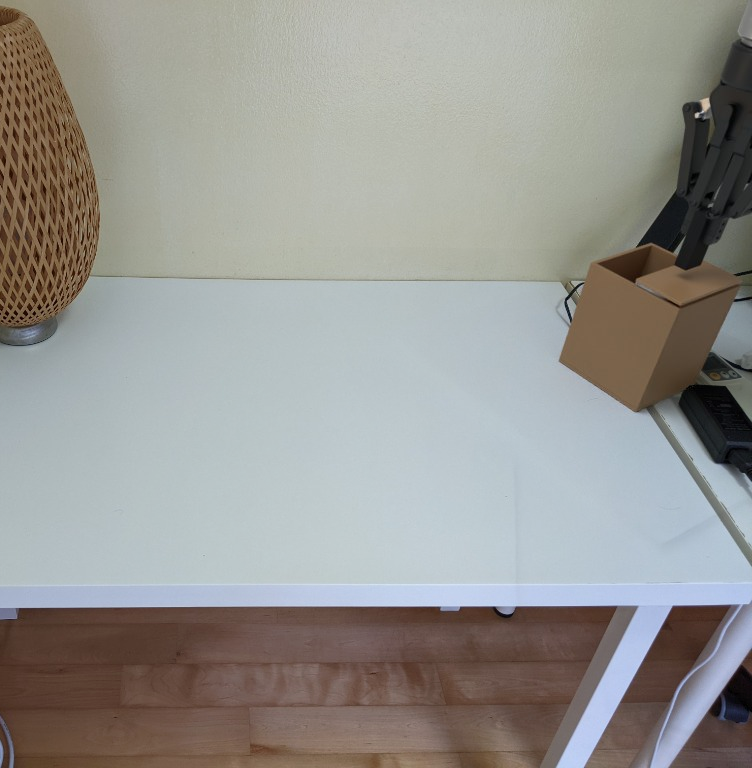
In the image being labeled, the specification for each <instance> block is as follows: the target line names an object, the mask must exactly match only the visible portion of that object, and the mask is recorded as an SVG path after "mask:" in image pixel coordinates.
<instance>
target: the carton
mask: <svg viewBox="0 0 752 768" xmlns="http://www.w3.org/2000/svg"><path fill="white" fill-rule="evenodd" d="M677 256H678V254H676V253H674V252H672V251H669V250H667V249H666V248H663V247H661V246H659V245H657V244H655V243H653V242H649V243H646V244H643V245H640V246H637V247H634V248H631V249H629V250H624V251H622V252H619V253H616V254H612V255H610V256H607V257H604V258H601V259H597V260H595V261H592V262H590V263H589V267H588V270H587V273H586V276H585V279H584V282H583V286H582V288H581V291H580V295H579V297H578V299H577V303H576V307H575V309H574V313H573V316H572V319H571V322H570V325H569V329H568V331H567V333H566V337H565V340H564V343H563V346H562V349H561V352H560V355H559V358H558V362H559V363H560V364H562V365H564V366H565V367H567V368H568V369H570V370H572V371H573V372H574V373H576V374H577V375H579V376H580V377H582V378H584V379H585V380H586V381H588V383H591V384H592V385H594V386H595V387H597V388H598V389H600V390H602V391H603V392H605V393H606V394H607V395H609V396H610V397H612V398H614V399H615V400H616V401H617V402H619V403H621V404H622V405H623V406H626V408H628V409H630V410H631V411H633V412H635V413H638V412H639V411H642V410H644V409H646V408H649V407H651V406H652V405H655V404H657V403H659V402H661V401H664V400H666V399H668V398H671V397H672V396H674V395H677V394H679V393H681V392H683V391H685V390H687V389H686V387H688V386H689V385H694V386H695V385H696V382H697V380H698V378H699V376H700V373H701V371H702V369H703V367H704V365H705V363H706V361H707V359H708V357H709V355H710V352H711V350H712V348H713V346H714V344H715V342H716V340H717V338H718V336H719V333H720V332H721V329H722V327H723V325H724V323H725V321H726V318H727V316H728V314H729V312H730V310H731V308H732V306H733V304H734V302H735V300H736V297H737V295H738V294H739V291H740V289H741V287H742V285H740V284H736V285H734V286H731V287H728V288H726V289H723V290H721V291H718V292H715V293H713V294H710V295H708V296H705V297H703V298H700V299H697V300H695V301H692V302H690V303H687V304H684V305H682V306H679V307H678V306H676V305H674V304H672V303H670V302H668V301H666V300H664V299H663V298H661V297H659V296H657V295H655V294H653V293H651V292H649V291H648V290H646V289H644V288H642V287H640V286H638V285H636V284H635V283H636V279H637V278H640V277H643V276H646V275H648V274H651V273H654V272H657V271H660V270H663V269H665V268H668V267H671V266H674V264H675V261H676V259H677Z"/></svg>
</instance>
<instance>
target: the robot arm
mask: <svg viewBox="0 0 752 768" xmlns="http://www.w3.org/2000/svg"><path fill="white" fill-rule="evenodd" d="M737 34H738V36H739V37H741V38H738V39H736V40H735V41H733V42H732V43H731V46H730V49H729V50H728V53H727V57H726V59H725V62H724V64H723V67H722V70H721V72H720V80H719V83H718V84H717V85H716V87H715V88H713V89H712V91H711V92H710V94H709V96H708V97H704V98H701V99H698V100H693V101H688V102H685V103H684V104H682V107H681V111H682V112H681V113H682V117H683V122H684V132H683V137H682V146H681V154H680V160H679V167H678V174H677V180H676V181H677V182H676V189H675V194H676V196H677V197H678V198H683V199H684V200H685V201H686V202H687V203H688V209H687V211H686V214H685V216H684V219H683V222H682V224H681V227H680V234H682V235H683V236H684V239H683V241H682V244H681V246H680V249H679V251H678V253H677V255H678V256H677V259H676V261H675V264H674V265H675V266H677V267H679V268H681V269H683V270H685V271H686V270H689V269H692V268H695V267H697V266H700V265H701V264H702V261H703V260H704V259H705V256H706V254H707V252H708V250H709V247H710V246H711V245H714V244H718V242H720V240H721V238H722V237H723V234H724V231H725V230H726V227H727V224H728V222H729V220H730V219H732V220H736V219H739V218H742V217H746V216H748V215H751V214H752V179H751V180H750V177H751V174H752V0H748V1H747V5H746V7H745V10H744V12H743V15H742V17H741V20H740V23H739V25H738V29H737ZM711 117H712V120H713V125H714V129H713V131H712V135H711V137H710V140H709V136H710V128H711ZM708 142H709V145H710V147H709V149H708V152H707V148H708ZM749 180H750V182H749ZM747 183H748V184H747ZM709 205H712V206H709Z"/></svg>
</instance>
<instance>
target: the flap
mask: <svg viewBox="0 0 752 768" xmlns="http://www.w3.org/2000/svg"><path fill="white" fill-rule="evenodd" d="M636 282H637V283H639V284H641V285H643V286H645V287H646V288H648V289H650V290H652V291H654V292H656V293H657V294H659V295H661V296H663V297H665V298H667V299H668V300H670V301H672V302H674V303H676V304H678V305H679V306H682V305H684V304H687V303H690V302H692V301H695V300H697V299H700V298H703V297H705V296H708V295H710V294H713V293H715V292H718V291H721V290H723V289H726V288H728V287H731V286H734V285H736V284H738V285H740V284H741V283H743V278H741V277H739V276H738V275H735V274H733V273H730V272H728V271H726V270H725V269H723V268H721V267H719V266H716V265H714V264H713V263H710V262H709V261H706V260H704V259H703V261H702V264H701V265H700V266H697V267H695V268H692V269H689V270H686V271H685V270H683V269H681V268H679V267H677V266H675V265H674V266H671V267H668V268H665V269H663V270H660V271H657V272H654V273H651V274H648V275H646V276H643V277H640V278H637V279H636Z"/></svg>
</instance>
